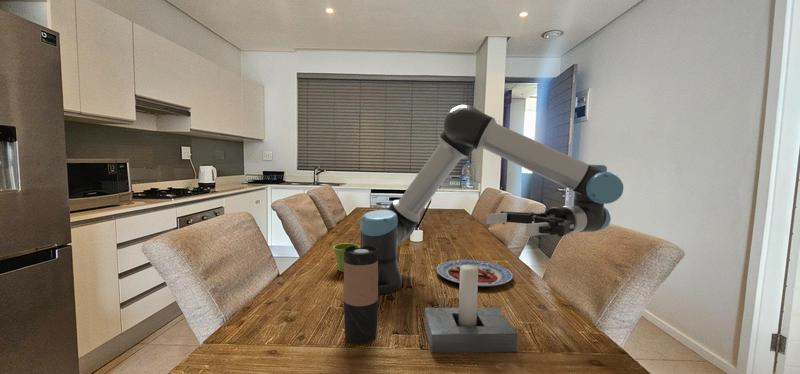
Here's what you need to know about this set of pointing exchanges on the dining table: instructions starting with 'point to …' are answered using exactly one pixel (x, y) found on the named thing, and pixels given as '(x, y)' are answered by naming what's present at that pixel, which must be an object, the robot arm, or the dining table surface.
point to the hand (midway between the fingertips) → (505, 224)
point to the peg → (468, 296)
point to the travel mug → (360, 293)
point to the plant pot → (341, 254)
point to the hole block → (469, 331)
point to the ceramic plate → (486, 272)
